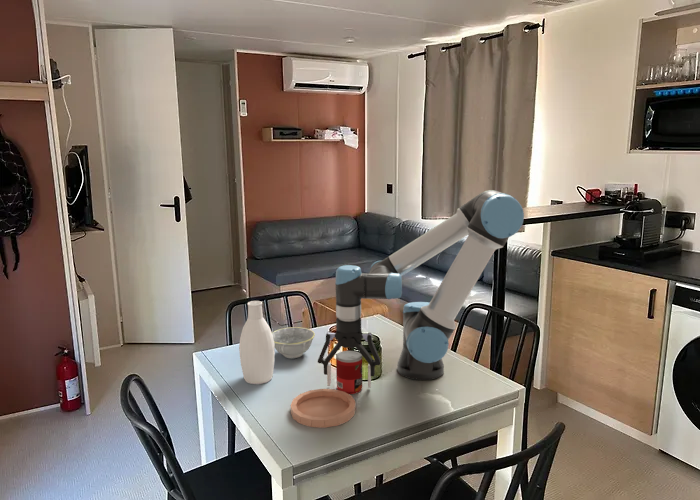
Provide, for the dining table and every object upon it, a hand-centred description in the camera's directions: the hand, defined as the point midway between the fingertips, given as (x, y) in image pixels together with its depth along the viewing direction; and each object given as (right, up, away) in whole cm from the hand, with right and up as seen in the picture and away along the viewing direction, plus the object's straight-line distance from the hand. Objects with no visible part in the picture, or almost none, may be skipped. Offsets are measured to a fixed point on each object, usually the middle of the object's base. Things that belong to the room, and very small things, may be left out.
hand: (349, 384), depth 164 cm
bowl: (-20, +4, +27) cm, 34 cm away
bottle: (-29, 0, +8) cm, 30 cm away
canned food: (0, -2, 0) cm, 2 cm away
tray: (-7, -4, -13) cm, 15 cm away
